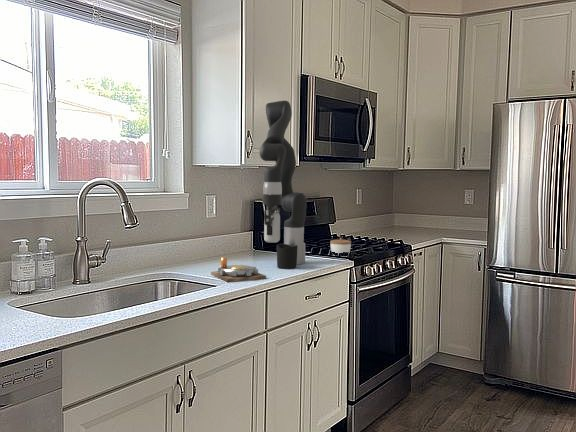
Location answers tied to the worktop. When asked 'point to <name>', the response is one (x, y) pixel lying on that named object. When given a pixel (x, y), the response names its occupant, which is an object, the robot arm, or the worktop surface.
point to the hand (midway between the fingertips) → (271, 234)
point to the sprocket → (236, 269)
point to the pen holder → (286, 256)
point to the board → (237, 277)
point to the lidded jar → (340, 246)
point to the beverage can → (273, 229)
